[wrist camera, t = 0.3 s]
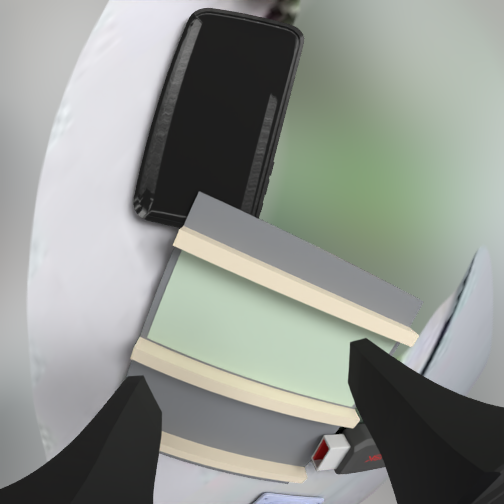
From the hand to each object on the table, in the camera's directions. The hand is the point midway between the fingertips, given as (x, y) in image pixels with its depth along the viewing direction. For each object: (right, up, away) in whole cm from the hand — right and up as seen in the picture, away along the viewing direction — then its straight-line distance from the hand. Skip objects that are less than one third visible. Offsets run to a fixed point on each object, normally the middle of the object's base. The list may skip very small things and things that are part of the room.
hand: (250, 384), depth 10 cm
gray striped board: (0, -5, +12) cm, 13 cm away
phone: (-2, +13, +8) cm, 16 cm away
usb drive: (+12, -14, +14) cm, 23 cm away
